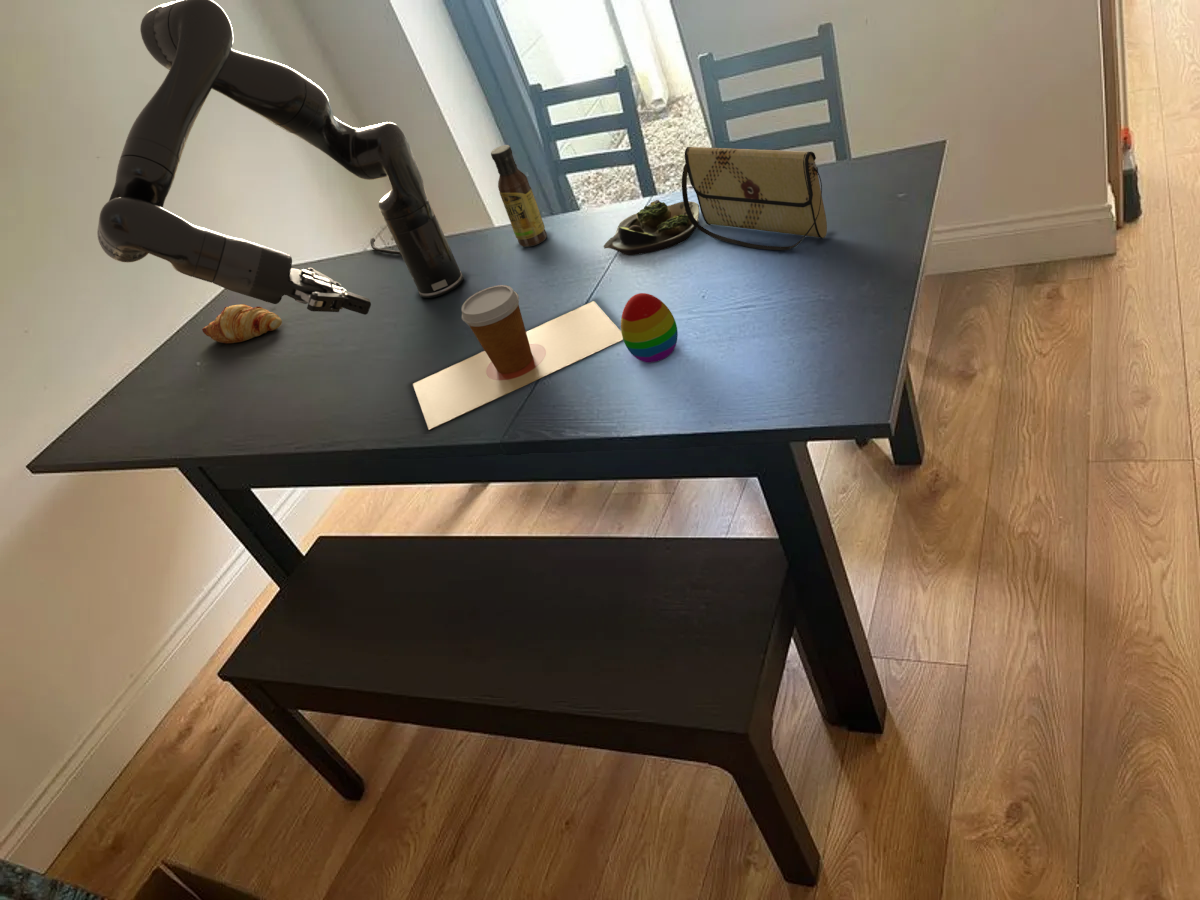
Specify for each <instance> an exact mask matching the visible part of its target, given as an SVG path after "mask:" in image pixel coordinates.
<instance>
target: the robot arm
mask: <svg viewBox="0 0 1200 900" xmlns="http://www.w3.org/2000/svg"><path fill="white" fill-rule="evenodd" d="M231 23H232V22H231V20H230V19H229V16H228V15H227V13H226V11H225V10H224V9H223V8H222V7H221V6H220V5H219V4H218V3H217V2H216V1H214V0H176V1H170V2H167V3H162V4H160V5H157V6H156V7H155V6H154V7H153V8H151V9H150V10H148V11H147V12H146V13H145V14H144V16H143V18H142V19H141V22H140V31H139V32H140V36H141V40H142V42H143V44H144V46H145V49H146V50H147V51H148V53H149V55H151V57H152V58H153V59H154V60H155V61H156V62H157V63H158V64H159V65H161V66H162V67H164V68H165V69H167V70H168V72H167V74H166V76H165V78H164V80H163V81H162V83H161V84H160V86H159V87H158V89H157V90H156V91H155V93H154V94H153V96H152V97H151V98H150V99H149V100H148V102H147V103H146V104H145V106H144V107H143V109H141V111H140V112H139V114H138V116H137V117H136V118H135V120H134V122H133V124H132V126H131V127H130V130H129V132H128V133H127V137H126V140H125V143H124V145H123V148H122V151H121V155H120V157H119V160H118V164H117V168H116V175H115V182H114V186H113V189H112V191H111V194H110V197H109V199H108V201H107V202H106V203H105V204H103V206H102V208H101V209H100V212H99V216H98V224H97V232H96V233H97V234H96V235H97V240H98V244H99V245H100V248H101V249H102V250H103V252H104V253H105V254H106V255H107V256H108V257H110V258H111V259H113V260H114V261H117V262H120V263H127V264H128V263H129V264H130V263H135V262H138V261H141V260H143V259H144V258H146V257H147V256H148V255H152V256H154V257H157V258H159V259H162V260H165V261H167V262H168V263H170V264H171V266H172V268H173V269H174V270H175V271H176V272H178V273H180V274H182V275H185V276H188V277H191V278H194V279H198V280H201V281H204V282H207V283H211V284H214V285H216V286H219V287H221V288H222V289H225V290H228V291H230V292H234V293H236V294H241V295H244V296H246V297H250V298H252V299H257V300H259V301H263V302H266V303H270V304H272V305H277V304H280V303H281V301H282V299H283V297H284V296H287V297H289V298H292V299H294V301H295V302H297V303H300V304H303V305H307V306H306V309H307V310H308V311H310V312H323V313H324V312H325V313H339V312H340V310H343V309H345V310H349V311H351V312H355V313H357V314H361V315H363V316H364V315H365V316H366V315H368V314H369V311H370V309H371V306H372V303H371V299H370V298H368V297H365V296H362V295H358V294H356V293H353V292H350V291H347V289H346V288H345V287H342V284H341V283H340V282H338V281H336V280H334V279H332V278H330V277H329V276H327V275H325V274H323V273H321V271H318V270H316V269H314V268H313V267H307V269H304V268H303V269H298V268H292V267H293V259H292V256H291V254H289V253H286V252H283V251H280V250H278V249H277V250H276V249H274V248H271V247H268V246H265V245H261V244H259V243H256V242H252V241H250V240H247V239H244V238H239V237H235V236H234V237H233V236H230V235H226V234H223V233H221V232H217V231H215V230H211V229H208V228H206V227H202V226H198V225H195V224H192V223H191V222H189V221H187V220H186V219H184V218H182V217H181V216H178V215H176V214H175V213H173V212H171V211H169V210H167V209H165V208H164V205H165V203H166V202H165V201H166V199H167V197H168V195H169V193H170V191H171V189H172V187H173V184H174V181H175V178H176V175H177V172H178V169H179V165H180V162H181V159H182V156H183V153H184V149H185V147H186V144H187V141H188V138H189V136H190V134H191V131H192V129H193V126H194V124H195V122H196V121H197V118H198V116H199V114H200V112H201V111H202V108H203V107H204V104H205V103H206V100H207V99H208V96H209V95H210V93H211V91H212V90H213V91H215V92H217V93H219V94H222V95H223V96H225V97H227V98H229V99H230V100H232V101H233V102H235V103H237V104H239V105H240V106H242V107H244V108H246V109H247V110H250V111H251V112H252V113H254V114H256V115H258V116H260V117H262V118H263V119H265V120H266V121H267V122H270V123H271V124H273V125H275V126H277V127H278V128H280V129H282V130H283V131H285V132H287V133H289V134H290V135H293V136H295V137H297V138H298V139H300V140H301V141H304V142H305V143H307V144H309V145H310V146H311V147H313V148H315V149H317V150H319V151H320V152H322V153H323V154H325V155H327V156H328V157H329V158H330V159H332V160H333V161H334V162H336V163H337V164H338V165H340V166H341V167H343V168H344V169H345V170H346V171H348V172H350V174H352V175H354V176H355V177H357V178H359V179H362V180H364V181H365V180H366V181H373V180H379V179H383V178H388V181H389V184H390V187H391V190H390V191H389V192H387V193H386V194H384V195H383V197H381V198H380V200H379V201H378V209H379V211H380V213H381V216H382V218H383V220H384V222H385V224H386V226H387V228H388V230H389V232H390V234H391V236H392V238H393V240H394V243H395V245H396V247H397V249H398V250H394V249H387V248H381V247H377V246H375V243H376V238H375V237H371V238H370V247H371V249H372V250H373V251H375V252H379V253H384V254H391V255H399V256H401V257H402V259H403V261H404V264H405V265H406V268H407V269H408V272H409V275H410V276H411V278H412V280H413V283H414V284H415V287H416V288H417V292H418V294H419V296H420V297H421V298H423V299H433V298H438V297H441V296H444V295H446V294H448V293H450V292H452V291H453V290H455V289H456V288H458V287H459V286H460V285H461V284H462V283H463V281H464V275H463V273H462V271H461V269H460V267H459V265H458V263H457V261H456V258H455V256H454V254H453V251H452V249H451V247H450V245H449V243H448V240H447V238H446V235H445V233H444V231H443V229H442V226H441V224H440V223H439V220H438V218H437V216H436V214H435V211H434V209H433V207H432V204H431V202H430V200H429V197H428V194H427V193H426V188H425V183H424V179H423V176H422V174H421V171H420V168H419V165H418V164H417V161H416V157H415V156H414V155H415V154H414V152H413V150H412V147H411V145H410V143H409V140H408V138H407V136H406V134H405V133H404V131H403V130H402V129H401V127H399V126H398V125H397V124H396V123H394V122H391V121H389V122H388V121H386V122H382V123H378V124H373V125H368V126H365V127H361V128H360V127H359V128H358V127H352V126H350V125H349V124H347V123H345V122H342V121H341V120H339V119H338V118H337V117H336V116H334V112H333V107H332V105H331V103H330V100H329V98H328V96H327V94H326V93H325V92H324V90H323V89H322V88H321V86H319V85H318V84H316V83H315V82H313V81H312V80H311V79H310V78H307V77H306V76H305V75H303V74H302V73H301V72H299V71H297V70H296V69H293V68H291V67H289V66H288V65H287V64H286V65H285V64H282V63H280V62H277V61H274V60H270V59H267V58H263V57H260V56H256V55H252V54H248V53H245V52H241V51H239V50H235V49H233V44H234V31H233V27H232V24H231Z"/></svg>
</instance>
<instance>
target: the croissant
mask: <svg viewBox="0 0 1200 900" xmlns="http://www.w3.org/2000/svg"><path fill="white" fill-rule="evenodd" d="M282 323H283V320H282V318H281V317H280V316H279V315H277V314H276V313H275V312H272V311H269V309H266V308H263V307H261V306H255V307H252V306H250V305H247V304H245V303H241V304H240V303H239V304H233V305H229V306H225V307H224V308H223V309H222V311H221V312H220V314H218V315H217V316H216V317H215V319H214V320H213V321H211V322H209V323H208V325H206V326H203V328H202V329H201V330H202V333H203V334H204V335H205V336H206V337H209V338H211V340H213V341H215V342H217V343H223V344H234V343H243V342H245V341H248V340H251V339H254V338H255V337H259V336H262V335H264V334H267V332H271V331H275V330H277V329H279V327H281V326H282Z"/></svg>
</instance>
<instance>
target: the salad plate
mask: <svg viewBox="0 0 1200 900" xmlns="http://www.w3.org/2000/svg"><path fill="white" fill-rule="evenodd" d="M688 201H689V200H688ZM689 206H690V209H691V212H692V214H693V216H694V218H695V220H696V221H697V222H698V223H699V224H700V220H699V217H700V206H699V203H698V202H696V201H689ZM696 230H697V228H696V227H695V226H694V225H693V224H692V223H691V221H690V220H689V217H688V215H687V213H686V210H685V206H684V202H683V201H680V202H676V203H673V204H669V205H667V204H666V203H665V201H663V202H662V201H661V200H659V199H655V200H653V201H651V202H650V203H649V204H648V205H645V206H644V207H643V208H642V209H640V210H639V211H638V212H636V213H633V214H631V215H630V216H628V217H626V218H624V219H623V220H621V221H620V222H619V224H618V226H617V227H616V230H615V234H614V235H613V236H612V237H610V238H609V239H608V240H607V241H606V242H605V243H604V245H603V248H604V249H610V250H614V251H617V252H618V253H620V254H622V255H624V256H625V255H626V256H639V255H643V254H644V255H645V254H649V253H650V254H651V253H655V252H660V251H664V250H667V249H670V248H673V247H675V246H678V245H680V244H682V243H684V242H686V241H687V240H689V238H691V236H693V234H694V233H695V231H696Z"/></svg>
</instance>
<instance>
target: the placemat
mask: <svg viewBox="0 0 1200 900" xmlns="http://www.w3.org/2000/svg"><path fill="white" fill-rule="evenodd" d="M526 334H527V337H528V341H529V345H530V349H531V352H532V356H533V358H532V360H531V362H530V363H529V364H528V365H527V366H525V367H524V368H522V369H520V370H518V371H516V372H513V373H508V374H503V373H499V372H498V371H497V370H496V368H495V366H494V365H493V363H492V361H491V360H490V358H489V357H488V355H487V353H486V352H485V350H483V351H481V352H479V353H476V354H475V355H473V356H470V357H468V358H466V359H464V360H462V361H460V362H457V363H455V364H453V365H451V366H449V367H448V366H447V367H446V368H444V369H442V370H439V371H438V372H435V373H434V374H431V375H429V376H426V377H425V378H422V379H420V380H418V381H415V382H414V383H412V387H413V389H414V391H415V394H416V397H417V400H418V403H419V406H420V409H421V412H422V415H423V417H424V420H425V423H426V426H427V429H428V431H431V430H432V429H435V428H437V427H439V426H441V425H444V424H446V423H448V422H450V421H452V420H454V419H457V418H458V417H461V416H463V415H465V414H467V413H470V412H471V411H473V410H476V409H478V408H480V407H482V406H485V405H486V404H489V403H491V402H493V401H495V400H498V399H499V398H502V397H503V396H504V397H505V396H506V395H508V394H510V393H512V392H514V391H516V390H519V389H521V388H523V387H525V386H527V385H530V384H532V383H535V382H537V381H538V380H540V379H542V378H544V377H547V376H548V375H551V374H554V373H555V372H557V371H560V370H562V369H565V368H566V367H569V366H570V365H571V366H572V364H575V363H577V362H580V361H581V360H584V359H586V358H588V357H590V356H592V355H594V354H596V353H598V352H600V351H603V350H605V349H607V348H609V347H611V346H613V345H616V344H618V343H620V342H622V341H624V340H623V337H622V332H621V329H620V328H619V327H618V326H617V325H616V324H615V323H614V322H613V320H612V319H611V318H610V317H609V316H608V315H607V314H606V313H605V312H604V310H603V309H602V308H601V307H600V306H599V305H598V304H597V302H596V301H594V300H593V301H590V302H588V303H586V304H584V305H582V306H579V307H577V308H575V309H572V310H571V311H568V312H566V313H564V314H562V315H560V316H558V317H555V318H553V319H550V320H549V321H547V322H544V323H543V324H540V325H539V326H536V327H533V328H531V329H530V330H526Z"/></svg>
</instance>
